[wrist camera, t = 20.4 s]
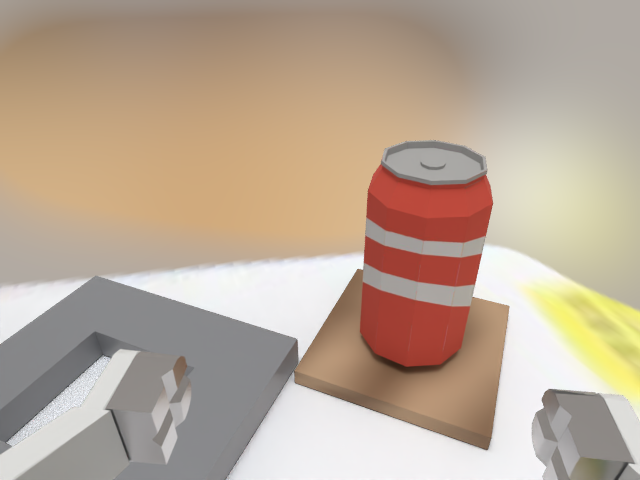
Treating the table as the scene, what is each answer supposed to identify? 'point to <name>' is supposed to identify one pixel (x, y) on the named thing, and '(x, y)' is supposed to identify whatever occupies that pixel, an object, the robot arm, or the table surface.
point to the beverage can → (423, 249)
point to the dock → (158, 337)
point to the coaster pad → (412, 371)
